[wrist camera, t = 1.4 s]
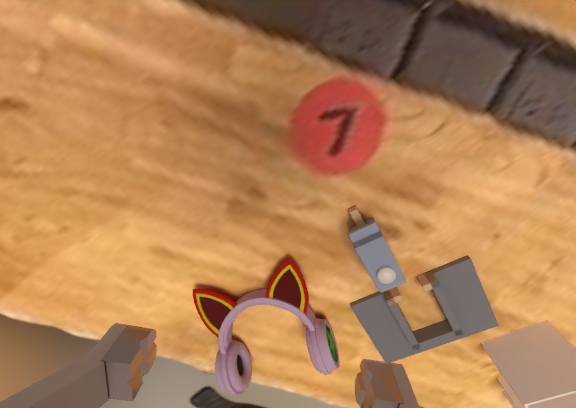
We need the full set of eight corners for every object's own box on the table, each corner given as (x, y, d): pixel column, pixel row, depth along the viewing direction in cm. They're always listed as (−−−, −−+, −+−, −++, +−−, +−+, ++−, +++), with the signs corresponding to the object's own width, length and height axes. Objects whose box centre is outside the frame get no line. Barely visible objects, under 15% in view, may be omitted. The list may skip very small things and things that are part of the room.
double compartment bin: (576, 407, 56) (637, 478, 45) (517, 423, 58) (562, 493, 48) (546, 319, 48) (610, 381, 38) (480, 341, 51) (523, 404, 41)
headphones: (233, 406, 49) (167, 335, 40) (241, 353, 58) (189, 285, 49) (343, 382, 45) (298, 298, 37) (334, 329, 54) (296, 250, 45)
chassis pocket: (467, 255, 44) (476, 264, 42) (495, 321, 49) (505, 333, 46) (350, 303, 49) (352, 314, 47) (385, 360, 53) (389, 372, 51)
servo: (364, 200, 42) (374, 220, 36) (397, 264, 46) (412, 292, 39) (339, 212, 43) (345, 234, 36) (374, 274, 47) (385, 303, 40)
